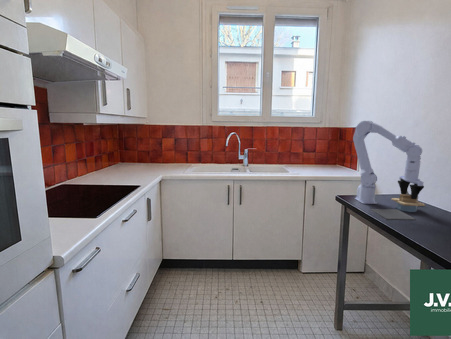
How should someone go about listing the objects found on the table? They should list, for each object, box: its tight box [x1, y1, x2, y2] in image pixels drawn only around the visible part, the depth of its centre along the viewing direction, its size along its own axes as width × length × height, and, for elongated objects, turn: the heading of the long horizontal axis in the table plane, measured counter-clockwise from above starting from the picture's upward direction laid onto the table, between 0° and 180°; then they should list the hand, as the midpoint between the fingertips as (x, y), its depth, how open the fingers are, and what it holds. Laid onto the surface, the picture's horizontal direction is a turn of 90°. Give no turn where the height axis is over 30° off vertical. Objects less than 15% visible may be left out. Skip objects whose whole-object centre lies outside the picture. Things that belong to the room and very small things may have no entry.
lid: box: [391, 193, 426, 207], centre depth 131 cm, size 10×10×4 cm
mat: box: [370, 208, 417, 221], centre depth 125 cm, size 13×13×1 cm
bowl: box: [396, 202, 418, 213], centre depth 132 cm, size 8×8×4 cm
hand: (408, 196), depth 131 cm, fingers open, 7 cm apart
